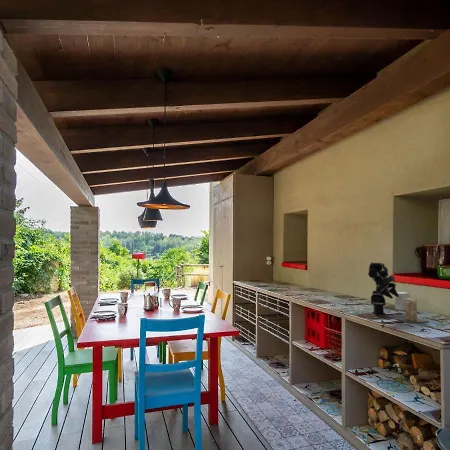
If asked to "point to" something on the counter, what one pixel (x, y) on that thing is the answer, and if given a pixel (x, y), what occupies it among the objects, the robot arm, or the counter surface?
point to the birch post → (411, 309)
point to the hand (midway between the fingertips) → (395, 297)
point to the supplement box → (401, 300)
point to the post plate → (411, 320)
